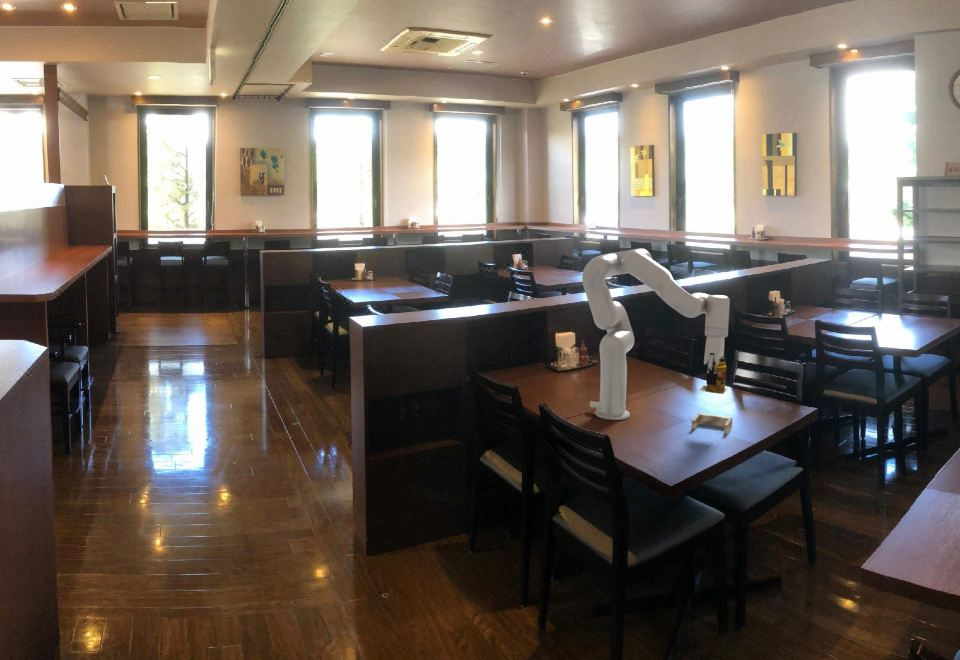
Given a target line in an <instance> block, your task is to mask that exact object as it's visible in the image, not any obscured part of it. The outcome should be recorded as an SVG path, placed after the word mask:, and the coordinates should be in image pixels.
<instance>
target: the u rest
mask: <svg viewBox="0 0 960 660" xmlns="http://www.w3.org/2000/svg"><path fill="white" fill-rule="evenodd" d="M699 425H705V426H706V425H707V426H711V427H719V428H723V435H724V436H727V435H728V434H729V433H730V432H731V429H732V428H733V417H726V416H719V415H713V414H707V413H706V414H705V413H699V412H698V413H697V414H696V415H695V416H694V418H692V420H691V431H696V429H697V428H698V426H699Z"/></svg>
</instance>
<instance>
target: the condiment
mask: <svg viewBox="0 0 960 660" xmlns="http://www.w3.org/2000/svg"><path fill="white" fill-rule="evenodd" d="M713 364H715V363H713ZM716 374H717V381H716V385H710V384H707V383H706V385H705V384H704V385H702V386H701V388H700V389H699V390H698V391H699V392H705V393H706V392H707V393H710V394H711V393H713V394H719V395H724V394H725V393H726V392H727V391H728V388H726V380H727V379H726V376H727V365H726V357H725V356H724V357H722V358H721V359H720V363H719V365H717V369H716Z"/></svg>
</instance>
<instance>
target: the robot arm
mask: <svg viewBox="0 0 960 660" xmlns="http://www.w3.org/2000/svg"><path fill="white" fill-rule="evenodd" d="M625 274H629V275H631V276H632V277H634V278H635V279H637V280H638V281H640V282H641V283H642V284H644V285H646V286H647V287H649V289H650V290H652V291H653V292H655V293H656V295H657V296H658V297H660V299H661V300H662V301H663V302H664V303H665V304H667V305H668V306H669V307H671V309H674V310H675V311H676V312H677V313H679V314H680V315H682V316H684V317H685V318H690V319H691V318H693V319H694V318H696V317H698V316H700V315H702V314H705V327H704V328H705V329H704V336H705V337H706V340H705V346H704V347H705V349H704V357H703V359H704V360H703V364H704V365H707V369H706V370H707V372H706V385H707V384H710V385H716V381H717V374H716V369H717V365H719V363H720V359H721V358H722V357H725V356H724V355H725V338H728V336H729V335H728V334H729V322H730V321H729V319H730V303H731V302H730V298H729V296H727V295H722V294H712V295H711V294H708V293H703V292H693V293H689V292H688V291H687V290H685V289H684V288H683V287H681V286H680V285H679V284H677V282H676V281H675V280H674V278H673V275H672V273H671V272H670V270H669V269H667V268H666V267H664V266H662V265H660V264H659V263H658V262H656V261H655V260H653V257H652V254H651V253H650V252H649V251H648V250H646V249H645V248H635V249H628V250H623V251H616V252H609V253H608V252H607V253H605V254H600V255H598V256H595V257H594V258H592V259H590V261H589V262H587V264H586V265H585V266H584V268H583V270H582V276H581V281H582V286H583V289H584V292H585V296H586V298H587V302H588V305H589V309H590V311H591V314H592V317H593V321H594V324H595V325H596V327H597V328H598V329H600V330H606V332H607V334H605V335H604V336H603V337H602V338H601V339H600V340H601V341H600V342H599V356H600V383H599V384H600V387H599V388H600V389H599V390H600V391H599V401H598V402H597V401H589V407H590V408H591V409H596V410H595V411H594V412H595V416H597V417H598V418H600V419H601V420H602V419H603V420H610V421H618V420H620V421H622V420H626V419H628V418H630V411H628V410H627V408H626V405H627V404H626V403H627V402H626V401H627V378H628V377H627V375H628V374H627V373H628V366H627V355H626V354H627V353H629V351H631V349H632V348H633V347H634V345H635V336H634V332H633V328H632V326H631V322H630V319H629V315H628V313H627V311H626V309H625V306H623V305H622V303H620V302H619V301H616V300H613V298H612V295H611V292H610V289H609V287H608V285H607V283H606V279H607V278H610V277H611V278H612V277H614V276H617V275H618V276H619V275H625ZM713 363H715V364H713Z"/></svg>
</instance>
